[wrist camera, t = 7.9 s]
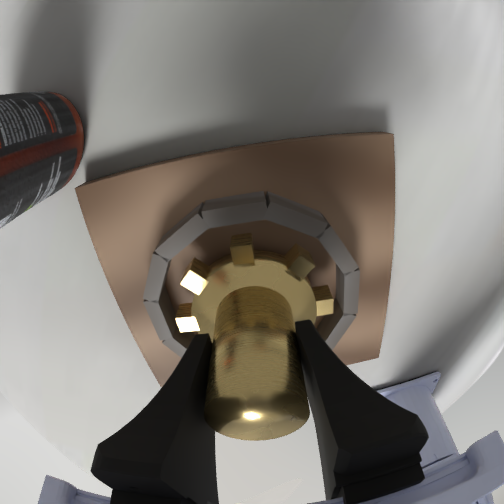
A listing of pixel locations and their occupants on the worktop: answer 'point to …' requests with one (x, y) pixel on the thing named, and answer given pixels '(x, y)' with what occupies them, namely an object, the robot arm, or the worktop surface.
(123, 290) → the collar board
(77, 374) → the worktop surface
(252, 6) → the worktop surface
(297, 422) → the planet gear
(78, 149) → the supplement bottle
